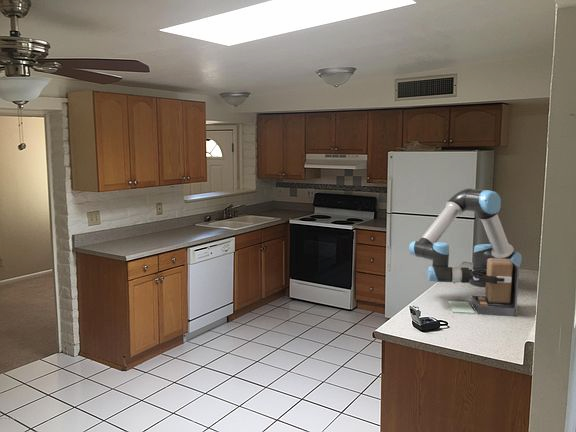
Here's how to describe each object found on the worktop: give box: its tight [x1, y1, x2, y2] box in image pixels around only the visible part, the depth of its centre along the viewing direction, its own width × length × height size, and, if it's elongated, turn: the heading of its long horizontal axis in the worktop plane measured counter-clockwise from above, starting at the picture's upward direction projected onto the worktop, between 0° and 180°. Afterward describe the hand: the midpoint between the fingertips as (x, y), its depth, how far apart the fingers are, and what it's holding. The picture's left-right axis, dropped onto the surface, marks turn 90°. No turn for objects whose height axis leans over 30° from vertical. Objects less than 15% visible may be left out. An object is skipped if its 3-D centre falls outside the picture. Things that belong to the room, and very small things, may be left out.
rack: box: [470, 259, 520, 317], centre depth 245 cm, size 17×17×24 cm
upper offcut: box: [478, 297, 488, 306], centre depth 247 cm, size 11×3×2 cm, turn 165°
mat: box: [447, 300, 476, 315], centre depth 249 cm, size 16×10×1 cm, turn 171°
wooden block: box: [485, 258, 513, 303], centre depth 244 cm, size 10×10×20 cm
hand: (508, 276), depth 243 cm, fingers closed on wooden block, 10 cm apart
